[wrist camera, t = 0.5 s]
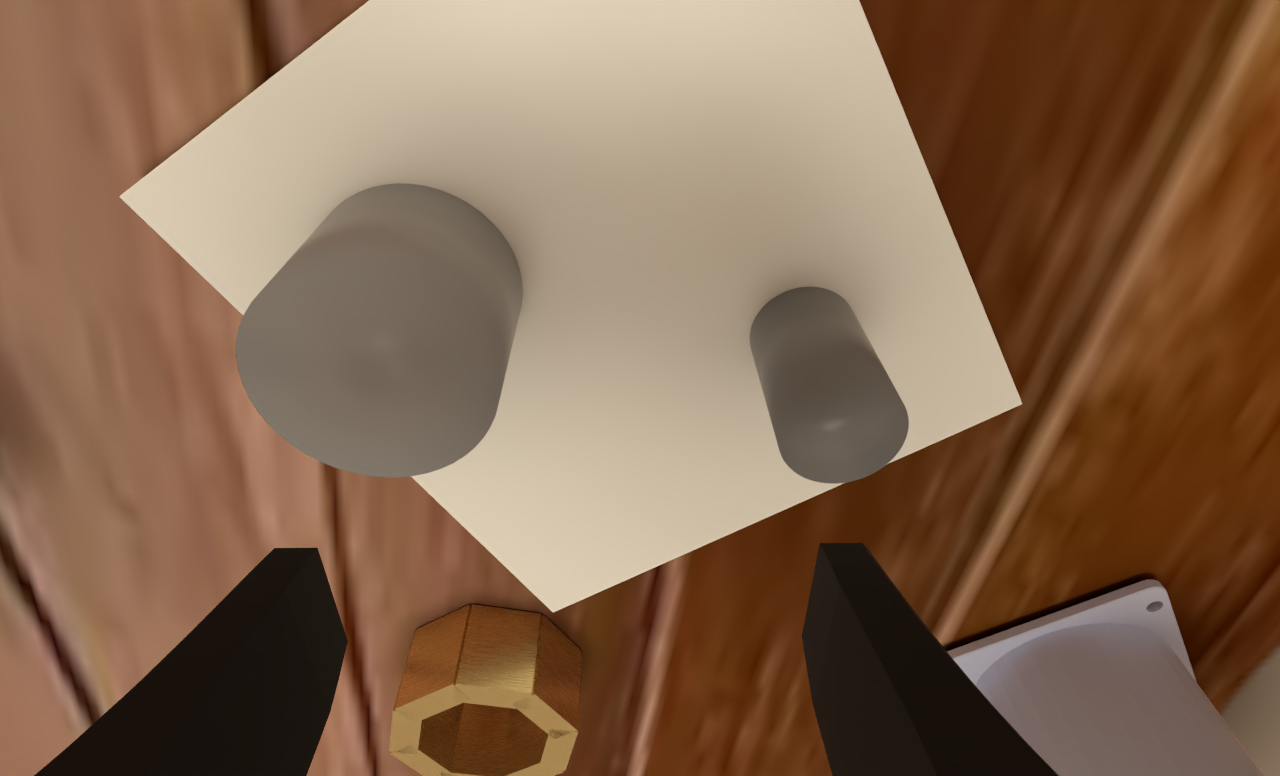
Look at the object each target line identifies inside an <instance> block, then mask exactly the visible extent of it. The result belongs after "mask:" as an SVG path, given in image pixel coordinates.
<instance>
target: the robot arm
mask: <svg viewBox="0 0 1280 776" xmlns="http://www.w3.org/2000/svg"><path fill="white" fill-rule="evenodd" d="M802 639H803V645H804V652H805V658H806V665H807V671H808V677H809V683H810V689H811V695H812V700H813V706H814V710H815V713H816V717H817V721H818V724H819V728H820V732H821V735H822V739H823V742H824V746H825V750H826V753H827V757H828V760H829V764H830V768H831V771H832V775H833V776H1264V775H1263V774H1262V772H1261V771H1260V770H1259V768H1258V767H1257V765H1256V764H1255V763H1254V761H1253V760H1252V759H1251V757H1250V756H1249V754H1248V753H1247V752H1246V750H1245V749H1244V747H1243V746H1242V745H1241V743H1240V742H1239V741H1238V739H1237V738H1236V736H1235V735H1234V734H1233V732H1232V731H1231V730H1230V728H1229V727H1228V725H1227V724H1226V723H1225V721H1224V720H1223V718H1222V717H1221V716H1220V714H1219V713H1218V711H1217V710H1216V709H1215V707H1214V706H1213V705H1212V703H1211V702H1210V700H1209V699H1208V698H1207V696H1206V695H1205V693H1204V692H1203V691H1202V689H1201V688H1200V687H1199V685H1198V684H1197V682H1196V679H1195V676H1194V673H1193V670H1192V667H1191V664H1190V661H1189V658H1188V654H1187V651H1186V648H1185V645H1184V642H1183V639H1182V636H1181V633H1180V630H1179V627H1178V624H1177V621H1176V618H1175V615H1174V612H1173V609H1172V606H1171V603H1170V599H1169V596H1168V593H1167V591H1166V590H1165V588H1164V587H1163V586H1162V584H1161V583H1160V582H1159V581H1157V580H1154V579H1147V580H1143V581H1140V582H1137V583H1134V584H1132V585H1129V586H1126V587H1123V588H1121V589H1118V590H1115V591H1112V592H1110V593H1107V594H1104V595H1101V596H1099V597H1096V598H1093V599H1090V600H1088V601H1085V602H1082V603H1079V604H1076V605H1074V606H1071V607H1068V608H1065V609H1063V610H1060V611H1057V612H1054V613H1052V614H1049V615H1046V616H1043V617H1041V618H1038V619H1035V620H1032V621H1030V622H1027V623H1024V624H1021V625H1019V626H1016V627H1013V628H1010V629H1008V630H1005V631H1002V632H999V633H996V634H994V635H991V636H988V637H985V638H983V639H980V640H977V641H974V642H972V643H969V644H966V645H963V646H961V647H958V648H955V649H952V650H950V651H946V650H945V649H944V648H943V646H942V645H941V644H940V643H939V642H938V640H937V639H936V638H935V637H934V635H933V634H932V633H931V632H930V630H929V629H928V628H927V627H926V625H925V624H924V623H923V622H922V620H921V619H920V618H919V616H918V615H917V614H916V613H915V611H914V610H913V609H912V607H911V606H910V605H909V603H908V602H907V601H906V600H905V598H904V597H903V596H902V594H901V593H900V592H899V590H898V589H897V588H896V586H895V585H894V584H893V582H892V581H891V580H890V578H889V577H888V576H887V574H886V573H885V572H884V570H883V569H882V567H881V566H880V565H879V563H878V562H877V561H876V559H875V558H874V557H873V555H872V554H871V552H870V551H869V550H868V549H867V548H866V547H865V546H864V545H863V544H862V543H820V546H819V551H818V556H817V561H816V566H815V571H814V577H813V582H812V587H811V592H810V597H809V603H808V608H807V613H806V618H805V623H804V628H803V634H802ZM346 646H347V638H346V635H345V632H344V629H343V626H342V622H341V619H340V616H339V613H338V610H337V607H336V604H335V601H334V598H333V595H332V592H331V589H330V585H329V582H328V579H327V576H326V573H325V570H324V567H323V564H322V561H321V558H320V555H319V551H318V548H274V549H273V550H272V551H271V552H270V553H269V554H268V555H267V556H266V557H265V558H264V559H263V560H262V561H261V562H260V563H259V564H258V565H257V566H256V567H255V568H254V569H253V570H252V571H251V572H250V573H249V574H248V575H247V576H246V577H245V578H244V579H243V580H242V581H241V582H240V583H239V584H238V585H237V586H236V587H235V588H234V589H233V590H232V591H231V592H230V593H229V594H228V595H227V596H226V597H225V598H224V599H223V600H222V601H221V602H220V603H219V604H218V605H217V606H216V607H215V608H214V609H213V610H212V611H211V612H210V613H209V614H208V615H207V616H206V617H205V618H204V619H203V620H202V621H201V622H200V623H199V624H198V625H197V626H196V627H195V628H194V629H193V630H192V631H191V632H190V633H189V634H188V635H187V636H186V637H185V638H184V639H183V640H182V641H181V642H180V643H179V644H178V645H177V646H176V647H175V648H174V649H173V650H172V651H171V652H170V653H169V654H168V655H167V656H166V657H165V658H164V659H163V660H162V661H161V662H160V663H159V664H157V665H156V666H155V667H154V668H153V669H152V670H151V671H150V672H149V673H148V674H147V675H146V676H145V677H144V678H143V679H142V680H141V681H140V682H139V683H138V684H137V685H136V686H135V687H134V688H132V689H131V690H130V691H129V692H128V693H127V694H126V695H125V696H124V697H123V698H122V699H120V700H119V701H118V702H117V703H116V704H115V705H114V706H113V707H112V708H111V709H109V710H108V711H107V712H106V713H105V714H104V715H103V716H102V717H101V718H100V719H98V720H97V721H96V722H95V723H94V724H93V725H92V726H91V727H90V728H89V729H87V730H86V731H85V732H84V733H83V734H82V735H81V736H80V737H79V738H77V739H76V740H75V741H74V742H73V743H72V744H71V745H70V746H68V747H67V748H66V749H65V750H64V751H63V752H62V753H60V754H59V755H58V756H57V757H56V758H54V759H53V760H52V761H51V762H50V763H49V764H47V765H46V766H45V767H44V768H43V769H42V770H40V771H39V772H38V773H37V774H36V775H34V776H306V775H307V772H308V770H309V767H310V764H311V762H312V759H313V756H314V754H315V751H316V748H317V746H318V743H319V740H320V738H321V735H322V732H323V730H324V727H325V724H326V721H327V719H328V716H329V713H330V710H331V706H332V703H333V699H334V695H335V691H336V687H337V684H338V680H339V675H340V671H341V667H342V663H343V658H344V654H345V650H346Z"/></svg>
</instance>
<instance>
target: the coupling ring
mask: <svg viewBox="0 0 1280 776" xmlns="http://www.w3.org/2000/svg"><path fill="white" fill-rule="evenodd" d="M581 663H582V652H581V650H580V649H579V648H578V647H577V646H576V645H575V644H574V643H573V642H572V641H571V640H570V639H568V638H567V637H566V636H565V635H564V634H563V633H562V632H561V631H560V630H559V629H558V628H557V627H556V626H555V625H554V624H553V623H552V622H551V621H549V620H548V619H547V618H546V617H545V616H544V615H541V613H533V612H526V611H519V610H512V609H504V608H497V607H490V606H482V605H475V604H472V606H471V605H470V604H469V605H467V606H465V607H463V608H461V609H459V610H456V611H454V612H452V613H450V614H448V615H446V616H444V617H441V618H439V619H437V620H435V621H433V622H431V623H428V624H426V625H424V626H422V627H420V628H418V629H416V631H415V633H414V636H413V640H412V644H411V647H410V651H409V655H408V658H407V662H406V665H405V669H404V673H403V676H402V680H401V684H400V687H399V691H398V694H397V698H396V702H395V705H394V709H393V716H392V727H391V737H390V748H389V752H390V754H392V755H393V756H395V757H396V758H398V759H399V760H400V761H402V762H403V763H405V764H406V765H408V766H409V767H411V768H412V769H414V770H415V771H417V772H418V773H420V774H421V775H423V776H555V775H557V774H560V773H563V772H564V771H565V770H566V767H567V764H568V761H569V758H570V755H571V752H572V749H573V746H574V743H575V740H576V737H577V734H578V723H579V703H580V683H581Z"/></svg>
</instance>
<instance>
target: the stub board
mask: <svg viewBox="0 0 1280 776" xmlns="http://www.w3.org/2000/svg"><path fill="white" fill-rule="evenodd" d="M119 197H120V198H121V199H122V200H123V201H124V202H125V203H126V204H127V205H129V206H130V207H131V208H132V209H133V210H134V211H135V212H136V213H137V214H138V215H139V216H140V217H141V218H142V219H143V220H144V221H145V222H146V223H147V224H148V225H149V226H150V227H151V228H153V229H154V230H155V231H156V232H157V233H158V234H159V235H160V236H161V237H162V238H163V239H164V240H165V241H166V242H167V243H168V244H169V245H170V246H171V247H172V248H173V249H174V250H175V251H177V252H178V253H179V254H180V255H181V256H182V257H183V258H184V259H185V260H186V261H187V262H188V263H189V264H190V265H191V266H192V267H193V268H194V269H195V270H196V271H197V272H198V273H199V274H200V275H202V276H203V277H204V278H205V279H206V280H207V281H208V282H209V283H210V284H211V285H212V286H213V287H214V288H215V289H216V290H217V291H218V292H219V293H220V294H221V295H222V296H223V297H224V298H226V299H227V300H228V301H229V302H230V303H231V304H232V305H233V306H234V307H235V308H236V309H237V310H238V311H239V312H240V313H241V314H242V315H243V318H242V321H241V323H240V326H239V330H238V335H237V341H236V358H237V365H238V371H239V374H240V377H241V380H242V384H243V386H244V388H245V390H246V392H247V394H248V397H249V399H250V400H251V402H252V403H253V405H254V406H255V408H256V410H257V411H258V412H259V414H260V415H261V416H262V417H263V418H264V420H265V421H266V422H267V423H268V424H269V425H270V426H271V427H272V428H273V429H274V430H275V431H276V432H277V433H278V434H279V435H280V436H281V437H283V438H284V439H285V440H286V441H288V442H289V443H290V444H291V445H293V446H294V447H296V448H297V449H299V450H300V451H302V452H304V453H305V454H307V455H309V456H311V457H313V458H315V459H316V460H318V461H320V462H323V463H325V464H328V465H330V466H333V467H335V468H338V469H342V470H345V471H348V472H352V473H357V474H361V475H366V476H375V477H409V476H411V477H412V478H413V479H414V480H415V481H416V482H417V483H418V484H419V485H421V486H422V487H423V488H424V489H425V490H426V491H427V492H428V493H429V494H430V495H431V496H432V497H433V498H434V499H435V500H436V501H437V502H438V503H439V504H440V505H441V506H442V507H443V508H445V509H446V510H447V511H448V512H449V513H450V514H451V515H452V516H453V517H454V518H455V519H456V520H457V521H458V522H459V523H460V524H461V525H462V526H463V527H464V528H465V529H466V530H467V531H468V532H470V533H471V534H472V535H473V536H474V537H475V538H476V539H477V540H478V541H479V542H480V543H481V544H482V545H483V546H484V547H485V548H486V549H487V550H488V551H489V552H490V553H491V554H492V555H494V556H495V557H496V558H497V559H498V560H499V561H500V562H501V563H502V564H503V565H504V566H505V567H506V568H507V569H508V570H509V571H510V572H511V573H512V574H513V575H514V576H515V577H516V578H518V579H519V580H520V581H521V582H522V583H523V584H524V585H525V586H526V587H527V588H528V589H529V590H530V591H531V592H532V593H533V594H534V595H535V596H536V597H537V598H538V599H539V600H540V601H541V602H543V603H544V604H545V605H546V606H547V607H548V608H549V609H550V610H551V611H552V612H555V611H558V610H560V609H562V608H564V607H567V606H569V605H571V604H573V603H576V602H578V601H580V600H582V599H585V598H587V597H589V596H591V595H594V594H596V593H598V592H600V591H603V590H605V589H607V588H609V587H612V586H614V585H616V584H618V583H621V582H623V581H625V580H627V579H630V578H632V577H634V576H636V575H639V574H641V573H643V572H645V571H648V570H650V569H652V568H654V567H657V566H659V565H661V564H663V563H666V562H668V561H670V560H672V559H675V558H677V557H679V556H681V555H684V554H686V553H688V552H690V551H693V550H695V549H697V548H699V547H702V546H704V545H706V544H708V543H711V542H713V541H715V540H717V539H720V538H722V537H724V536H726V535H729V534H731V533H733V532H735V531H738V530H740V529H742V528H744V527H747V526H749V525H751V524H753V523H756V522H758V521H760V520H762V519H765V518H767V517H769V516H771V515H774V514H776V513H778V512H780V511H783V510H785V509H787V508H789V507H792V506H794V505H796V504H798V503H801V502H803V501H805V500H807V499H810V498H812V497H814V496H816V495H819V494H821V493H823V492H825V491H828V490H830V489H832V488H835V487H837V486H839V485H841V484H844V483H846V482H851V481H855V480H858V479H861V478H864V477H866V476H869V475H871V474H873V473H875V472H876V471H878V470H880V469H881V468H883V467H884V466H885V465H886V464H889V463H891V462H893V461H895V460H898V459H900V458H902V457H904V456H907V455H909V454H911V453H913V452H916V451H918V450H920V449H922V448H925V447H927V446H929V445H931V444H934V443H936V442H938V441H940V440H943V439H945V438H947V437H949V436H952V435H954V434H956V433H958V432H961V431H963V430H965V429H967V428H970V427H972V426H974V425H976V424H979V423H981V422H983V421H985V420H988V419H990V418H992V417H994V416H997V415H999V414H1001V413H1003V412H1006V411H1008V410H1010V409H1012V408H1015V407H1017V406H1019V405H1021V404H1022V402H1021V399H1020V397H1019V394H1018V392H1017V390H1016V387H1015V385H1014V382H1013V380H1012V377H1011V375H1010V372H1009V370H1008V367H1007V365H1006V362H1005V360H1004V357H1003V355H1002V352H1001V350H1000V347H999V345H998V343H997V340H996V338H995V335H994V333H993V330H992V328H991V325H990V323H989V320H988V318H987V315H986V313H985V310H984V308H983V305H982V303H981V301H980V298H979V296H978V293H977V291H976V288H975V286H974V283H973V281H972V278H971V276H970V273H969V271H968V268H967V266H966V263H965V261H964V258H963V256H962V254H961V251H960V249H959V246H958V244H957V241H956V239H955V236H954V234H953V231H952V229H951V226H950V224H949V221H948V219H947V216H946V214H945V212H944V209H943V207H942V204H941V202H940V199H939V197H938V194H937V192H936V189H935V187H934V184H933V182H932V179H931V177H930V174H929V172H928V169H927V167H926V165H925V162H924V160H923V157H922V155H921V152H920V150H919V147H918V145H917V142H916V140H915V137H914V135H913V132H912V130H911V127H910V125H909V123H908V120H907V118H906V115H905V113H904V110H903V108H902V105H901V103H900V100H899V98H898V95H897V93H896V90H895V88H894V85H893V83H892V81H891V78H890V76H889V73H888V71H887V68H886V66H885V63H884V61H883V58H882V56H881V53H880V51H879V48H878V46H877V43H876V41H875V38H874V36H873V34H872V31H871V29H870V26H869V24H868V21H867V19H866V16H865V14H864V11H863V9H862V6H861V4H860V1H859V0H369V1H368V2H366V3H365V4H364V5H363V6H361V7H360V8H359V9H358V10H356V11H355V12H354V13H352V14H351V15H350V16H349V17H347V18H346V19H345V20H344V21H342V22H341V23H340V24H338V25H337V26H336V27H335V28H333V29H332V30H331V31H330V32H328V33H327V34H326V35H324V36H323V37H322V38H321V39H319V40H318V41H317V42H315V43H314V44H313V45H312V46H310V47H309V48H308V49H307V50H305V51H304V52H303V53H301V54H300V55H299V56H298V57H296V58H295V59H294V60H293V61H291V62H290V63H289V64H287V65H286V66H285V67H284V68H282V69H281V70H280V71H279V72H277V73H276V74H275V75H273V76H272V77H271V78H270V79H268V80H267V81H266V82H265V83H263V84H262V85H261V86H259V87H258V88H257V89H256V90H254V91H253V92H252V93H251V94H249V95H248V96H247V97H245V98H244V99H243V100H242V101H240V102H239V103H238V104H236V105H235V106H234V107H233V108H231V109H230V110H229V111H228V112H226V113H225V114H224V115H222V116H221V117H220V118H219V119H217V120H216V121H215V122H214V123H212V124H211V125H210V126H208V127H207V128H206V129H205V130H203V131H202V132H201V133H200V134H198V135H197V136H196V137H194V138H193V139H192V140H191V141H189V142H188V143H187V144H186V145H184V146H183V147H182V148H180V149H179V150H178V151H177V152H175V153H174V154H173V155H172V156H170V157H169V158H168V159H166V160H165V161H164V162H163V163H161V164H160V165H159V166H157V167H156V168H155V169H154V170H152V171H151V172H150V173H149V174H147V175H146V176H145V177H143V178H142V179H141V180H140V181H138V182H137V183H136V184H135V185H133V186H132V187H131V188H129V189H128V190H127V191H126V192H124V193H123V194H122V195H121V196H119Z"/></svg>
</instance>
